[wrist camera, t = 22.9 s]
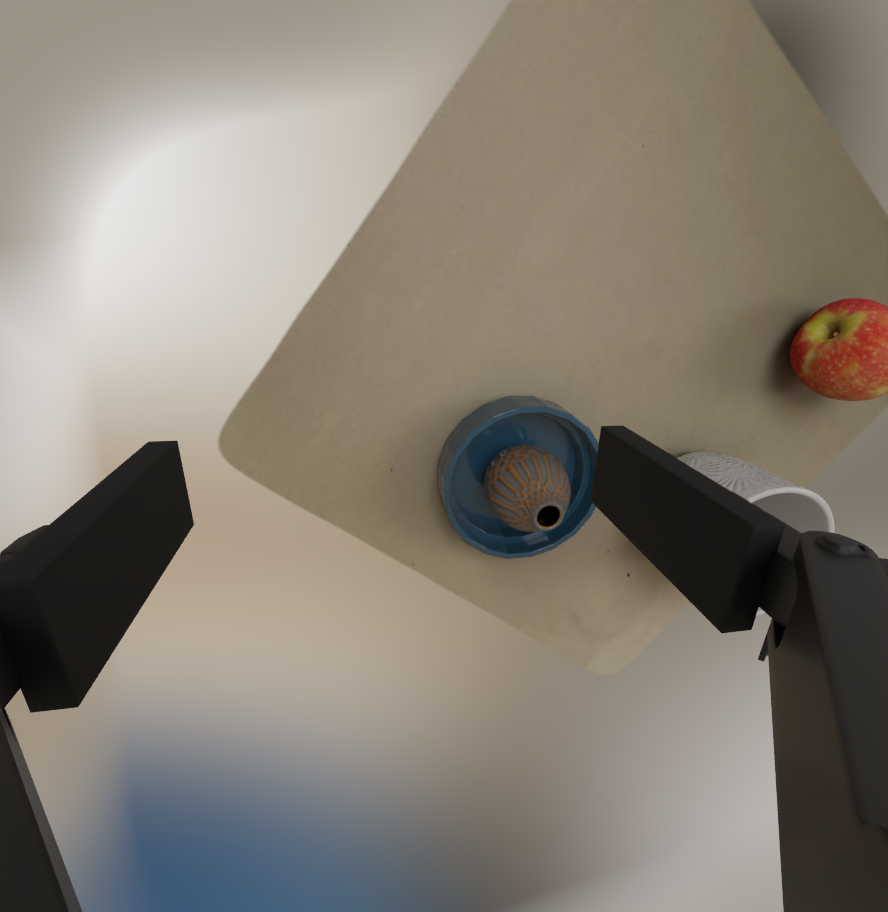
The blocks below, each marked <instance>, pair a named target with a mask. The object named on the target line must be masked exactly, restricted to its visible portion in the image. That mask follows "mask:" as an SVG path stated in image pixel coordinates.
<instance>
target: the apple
mask: <svg viewBox="0 0 888 912" xmlns="http://www.w3.org/2000/svg"><path fill="white" fill-rule="evenodd" d="M790 361H791V365H792V368H793V370H794V372H795V373H796V375H797V376H798V377H799V379H800V380H801V381H802V382H803V383H804V384H805V385H806V386H807V387H809V388H810V389H812V390H813V391H815V392H817V393H819V394H821V395H823V396H826V397H829V398H833V399H838V400H848V401H859V400H869V399H873V398H877V397H880V396H882V395H885V394H886V393H888V307H887V306H885V305H883V304H880V303H878V302H875V301H872V300H867V299H861V298H853V299H843V300H839V301H836V302H833V303H830V304H828V305H826V306H824V307H822V308H820V309H819V310H818V311H817V312H815V313H814V314H813V315H812V316H811V317H810V318H809V319H808V320H807V321H806V322H805V323H804V325H803V326H802V327H801V328H800V329H799V331H798V332H797V334H796V335H795V337H794V340H793V342H792V345H791V349H790Z"/></svg>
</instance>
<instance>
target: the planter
mask: <svg viewBox="0 0 888 912" xmlns="http://www.w3.org/2000/svg"><path fill="white" fill-rule="evenodd" d="M677 459H679V460H680V461H682V462H684V463H685V464H687V465H689V466H690V467H692V468H694V469H695V470H697V471H698V472H700V473H702V474H703V475H705V476H707V477H708V478H710V479H712V480H713V481H715V482H717V483H718V484H720V485H722V486H723V487H725V488H727V489H728V490H730V491H732V492H735V493H736V494H738V495H740V496H741V497H743V498H745V499H746V500H748V501H750V503H751V504H755V505H756V506H758V507H760V508H761V509H763V511H766V512H768V513H769V514H771V515H773V516H774V517H776V518H778V519H779V520H781V521H783V522H784V523H786V524H788V525H789V526H791V527H793V528H794V529H796V530H798V531H799V532H801V533H804V532H807V531H824V532H830V533H834V519H833V515H832V513H831V510H830V508H829V506H828V504H827V503H826V502H825V501H824V499H822V498H821V497H820V496H819V495H818V494H816V493H814V492H813V491H810V490H808V489H806V488H804V487H801V486H799V485H797V484H795V483H793V482H791V481H788V480H786V479H784V478H782V477H780V476H777V475H775V474H773V473H771V472H769V471H766V470H764V469H762V468H760V467H757V466H755V465H753V464H750V463H748V462H745V461H743V460H740V459H738V458H735V457H731V456H728V455H725V454H721V453H716V452H706V451H703V452H693V453H688V454H685V455H682V456H679V457H677ZM763 614H766V612H764V611H763V610H762V609H761V608H760V607H759V608H758V611H757V614H756V616H760V615H763Z"/></svg>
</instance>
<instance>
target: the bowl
mask: <svg viewBox="0 0 888 912" xmlns="http://www.w3.org/2000/svg"><path fill="white" fill-rule="evenodd" d="M517 444H530V445H535V446H538V447H541V448H543V449H545V450H547V451H548V452H550V453H551V454H552V455H553V456H555V457H556V458H557V459H558V460H559V462H560V463H561V464H562V465H563V467H564V469H565V471H566V473H567V475H568V478H569V482H570V487H571V497H570V502H569V506H568V508H567V510H566V512H565V514H564V518H563V520H562V522H561V523H560V525H559V526H557V527H556V528H554V529H552V530H549V531H543V530H541V531H536V532H525V531H520V530H517V529H514V528H512V527H510V526H508V525H507V524H505V523H504V522H503V521H501V520H500V519H499V518H498V517H497V516H496V515H495V514H494V512H493V511H492V509H491V508H490V506H489V504H488V502H487V499H486V496H485V492H484V477H485V472H486V469H487V467H488V465H489V463H490V461H491V460H492V459H493V457H494V456H495V455H496V454H497V453H499V452H500V451H501V450H503V449H505V448H507V447H509V446H512V445H517ZM598 446H599V443H598V442H597V440H596V438H595V437H594V435H593V433H592V432H591V430H590V429H589V428H588V427H587V426H586V425H585V424H583V423H582V422H581V421H579V420H578V419H577V418H576V417H574V416H573V415H572V414H570V413H569V412H568V411H566V410H565V409H563V408H562V407H560V406H559V405H557V404H556V403H553V402H550V401H547V400H544V399H541V398H538V397H535V396H511V397H505V398H502V399H499V400H496V401H493V402H491V403H488V404H485V405H483V406H481V407H480V408H479V409H477V410H476V411H474V412H473V413H472V414H470V415H469V416H467V417H466V418H465V419H463V421H461V423H460V424H459V425H458V427H457V428H456V429H455V430H454V432H453V433H452V434H451V436H450V437H449V438H448V440H447V442H446V444H445V447H444V450H443V452H442V455H441V458H440V461H439V464H438V488H439V491H440V494H441V497H442V500H443V503H444V506H445V509H446V511H447V514H448V517H449V520H450V523H451V525H452V527H453V528H454V529H455V530H456V531H457V533H458V534H459V535H460V536H461V537H462V539H463V540H464V541H465V542H466V543H468V544H469V545H471V546H473V547H474V548H476V549H478V550H480V551H481V552H483V553H485V554H488V555H493V556H498V557H503V558H521V557H531V556H535V555H537V554H540V553H543V552H546V551H549V550H551V549H554V548H556V547H557V546H559V545H560V544H562V543H563V542H565V541H566V540H568V539H569V538H571V537H572V536H573V535H574V534H576V533H577V532H578V530H579V529H580V528H581V527H582V526H583V525H584V524H585V522H586V521H587V520H588V519H589V518H590V517H591V515H592V513H593V511H594V509H595V507H596V506H595V505H594V504H593V503H592V502H591V501H590V499H591V492H592V486H593V479H594V472H595V466H596V459H597V453H598Z"/></svg>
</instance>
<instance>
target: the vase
mask: <svg viewBox="0 0 888 912" xmlns="http://www.w3.org/2000/svg"><path fill="white" fill-rule="evenodd" d="M484 492H485V496H486V499H487V502H488V504H489V506H490V508H491V509H492V511H493V512H494V514H495V515H496V516H497V517H498V518H499V519H500V520H501V521H503V522H504V523H505V524H507V525H508V526H510V527H512V528H514V529H517V530H520V531H525V532H536V531H541V530H543V531H549V530H552V529H554V528H556V527H557V526H559V525H560V523H561V522H562V520H563V518H564V514H565V512H566V510H567V508H568V506H569V502H570V497H571V487H570V482H569V478H568V475H567V473H566V471H565V469H564V467H563V465H562V464H561V463H560V462H559V460H558V459H557V458H556V457H555V456H553V455H552V454H551V453H550V452H548V451H547V450H545V449H543V448H541V447H538V446H535V445H530V444H517V445H512V446H509V447H507V448H505V449H503V450H501V451H500V452H499V453H497V454H496V455H495V456H494V457H493V459H492V460H491V461H490V463H489V465H488V467H487V469H486V472H485V477H484Z"/></svg>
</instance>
